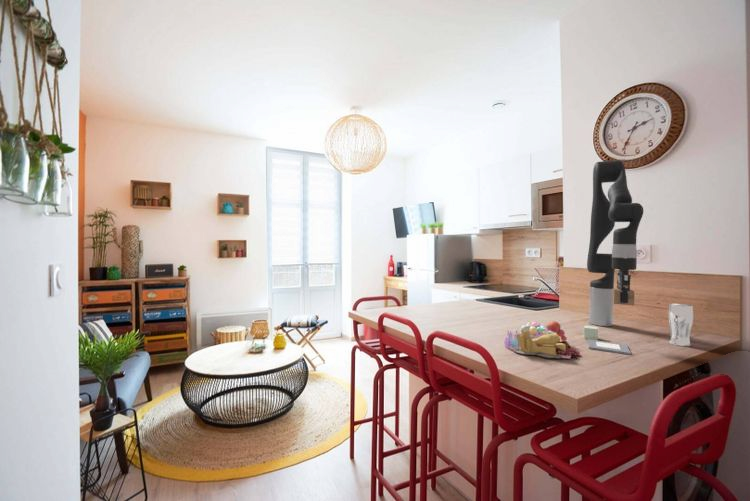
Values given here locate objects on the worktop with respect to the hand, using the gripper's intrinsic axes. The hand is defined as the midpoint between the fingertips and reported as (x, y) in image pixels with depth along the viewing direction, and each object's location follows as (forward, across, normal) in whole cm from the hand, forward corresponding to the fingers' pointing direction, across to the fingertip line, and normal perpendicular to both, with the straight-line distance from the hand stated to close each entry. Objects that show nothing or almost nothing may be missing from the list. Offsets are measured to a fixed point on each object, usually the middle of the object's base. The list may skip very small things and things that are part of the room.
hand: (622, 301), depth 128 cm
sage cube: (+16, -4, -10) cm, 19 cm away
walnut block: (+1, 0, 0) cm, 1 cm away
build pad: (+16, +7, -5) cm, 18 cm away
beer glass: (+16, -13, +20) cm, 29 cm away
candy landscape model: (+17, +22, -26) cm, 38 cm away
